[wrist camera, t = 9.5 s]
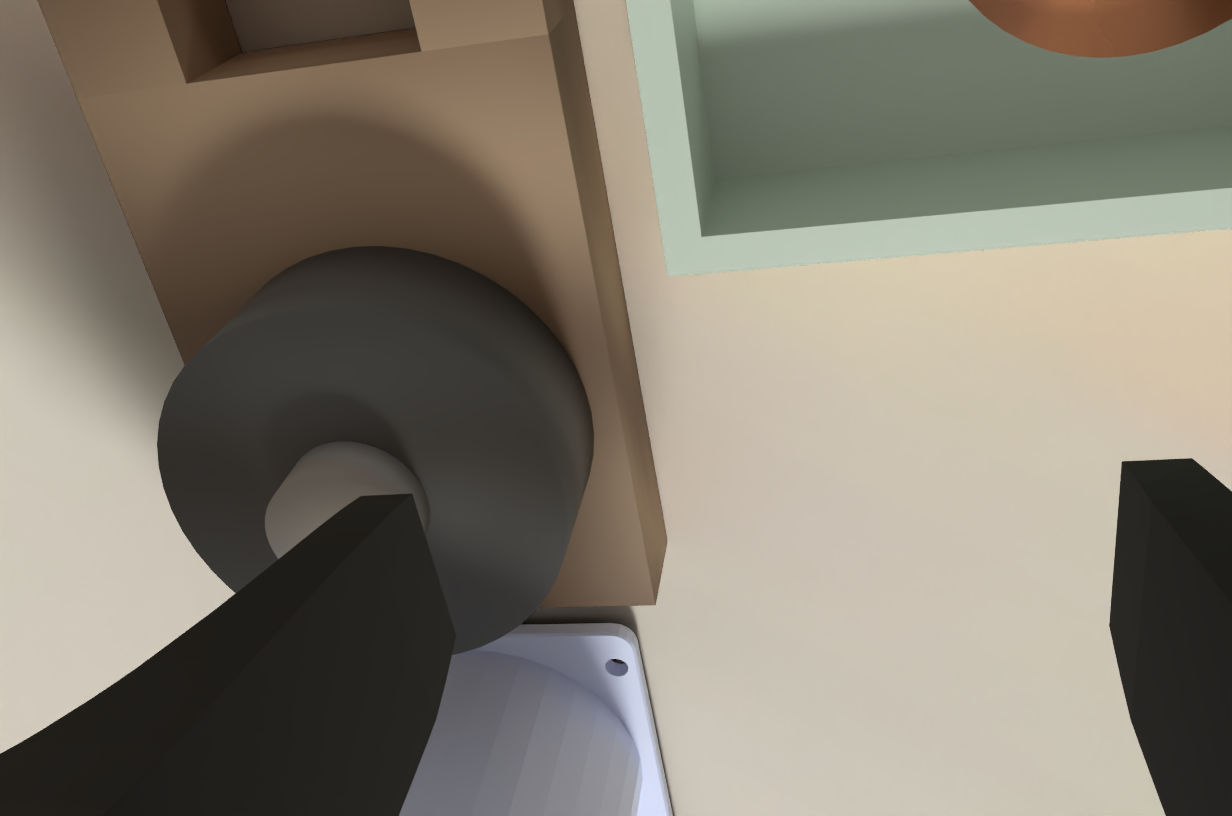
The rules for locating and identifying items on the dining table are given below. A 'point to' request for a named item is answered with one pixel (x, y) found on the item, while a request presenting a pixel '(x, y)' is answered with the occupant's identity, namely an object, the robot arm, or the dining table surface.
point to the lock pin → (1105, 23)
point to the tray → (915, 133)
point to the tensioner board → (380, 177)
